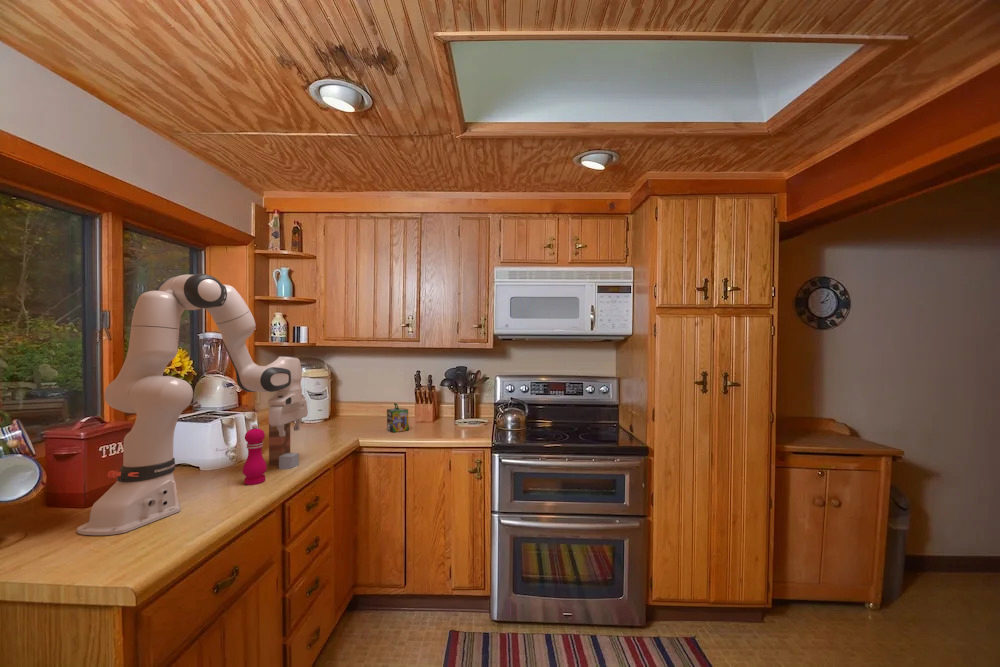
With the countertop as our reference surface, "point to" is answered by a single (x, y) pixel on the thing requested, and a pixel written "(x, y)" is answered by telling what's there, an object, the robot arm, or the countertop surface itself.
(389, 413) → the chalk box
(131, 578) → the countertop surface
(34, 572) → the countertop surface
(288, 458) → the grey cube
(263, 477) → the pepper mill
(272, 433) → the tower top
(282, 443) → the tower mid
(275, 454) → the tower base
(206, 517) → the countertop surface
